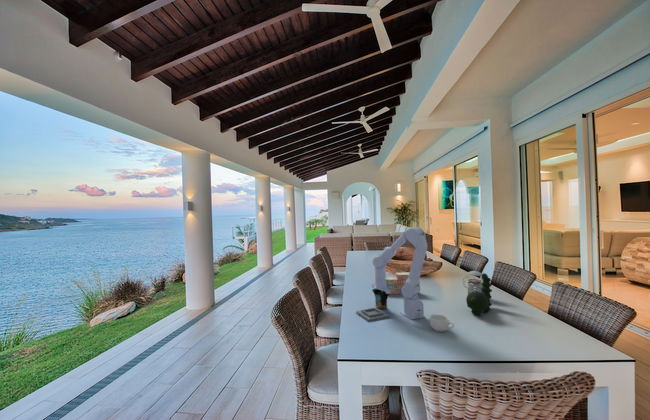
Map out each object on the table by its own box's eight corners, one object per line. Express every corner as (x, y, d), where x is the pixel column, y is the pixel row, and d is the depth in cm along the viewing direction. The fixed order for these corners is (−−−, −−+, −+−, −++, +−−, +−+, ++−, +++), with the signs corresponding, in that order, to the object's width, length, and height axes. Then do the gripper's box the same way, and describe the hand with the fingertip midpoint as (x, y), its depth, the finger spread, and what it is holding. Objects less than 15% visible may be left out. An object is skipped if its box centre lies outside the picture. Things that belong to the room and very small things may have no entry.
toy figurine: (477, 306, 154) (461, 315, 136) (477, 271, 155) (461, 275, 137) (497, 310, 147) (483, 321, 129) (497, 273, 148) (483, 278, 130)
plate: (389, 317, 138) (389, 313, 138) (368, 321, 133) (368, 317, 133) (375, 309, 149) (375, 305, 149) (356, 313, 144) (356, 309, 144)
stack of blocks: (383, 294, 175) (382, 274, 175) (381, 291, 181) (381, 272, 181) (417, 294, 173) (417, 274, 173) (415, 291, 180) (415, 272, 180)
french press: (488, 299, 160) (487, 256, 160) (468, 299, 161) (466, 256, 161) (479, 294, 170) (478, 253, 170) (460, 294, 171) (459, 253, 170)
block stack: (387, 307, 150) (386, 295, 150) (380, 308, 148) (379, 296, 148) (382, 304, 154) (382, 293, 154) (375, 306, 152) (375, 294, 152)
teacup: (427, 330, 123) (426, 317, 123) (434, 324, 128) (433, 312, 128) (450, 336, 116) (450, 323, 116) (456, 330, 121) (456, 318, 121)
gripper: (367, 276, 156) (367, 300, 156) (381, 282, 143) (382, 309, 143) (377, 275, 159) (378, 298, 159) (393, 280, 146) (393, 306, 146)
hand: (381, 303), depth 151 cm, fingers closed on block stack, 4 cm apart
